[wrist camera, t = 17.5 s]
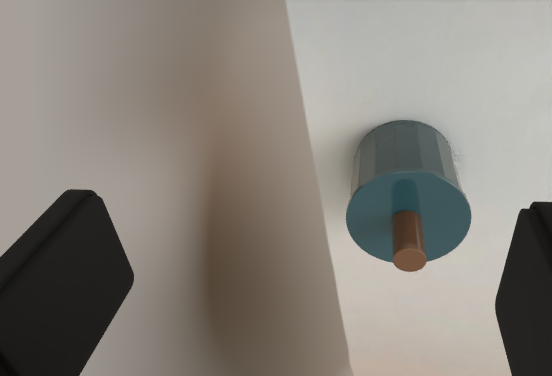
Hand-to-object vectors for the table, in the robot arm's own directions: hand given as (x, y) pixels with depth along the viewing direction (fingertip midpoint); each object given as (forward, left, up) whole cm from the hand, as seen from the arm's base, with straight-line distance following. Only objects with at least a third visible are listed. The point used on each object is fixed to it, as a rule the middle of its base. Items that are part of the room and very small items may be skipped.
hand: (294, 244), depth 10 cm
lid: (+5, -17, -22) cm, 28 cm away
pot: (+5, -17, -30) cm, 35 cm away
